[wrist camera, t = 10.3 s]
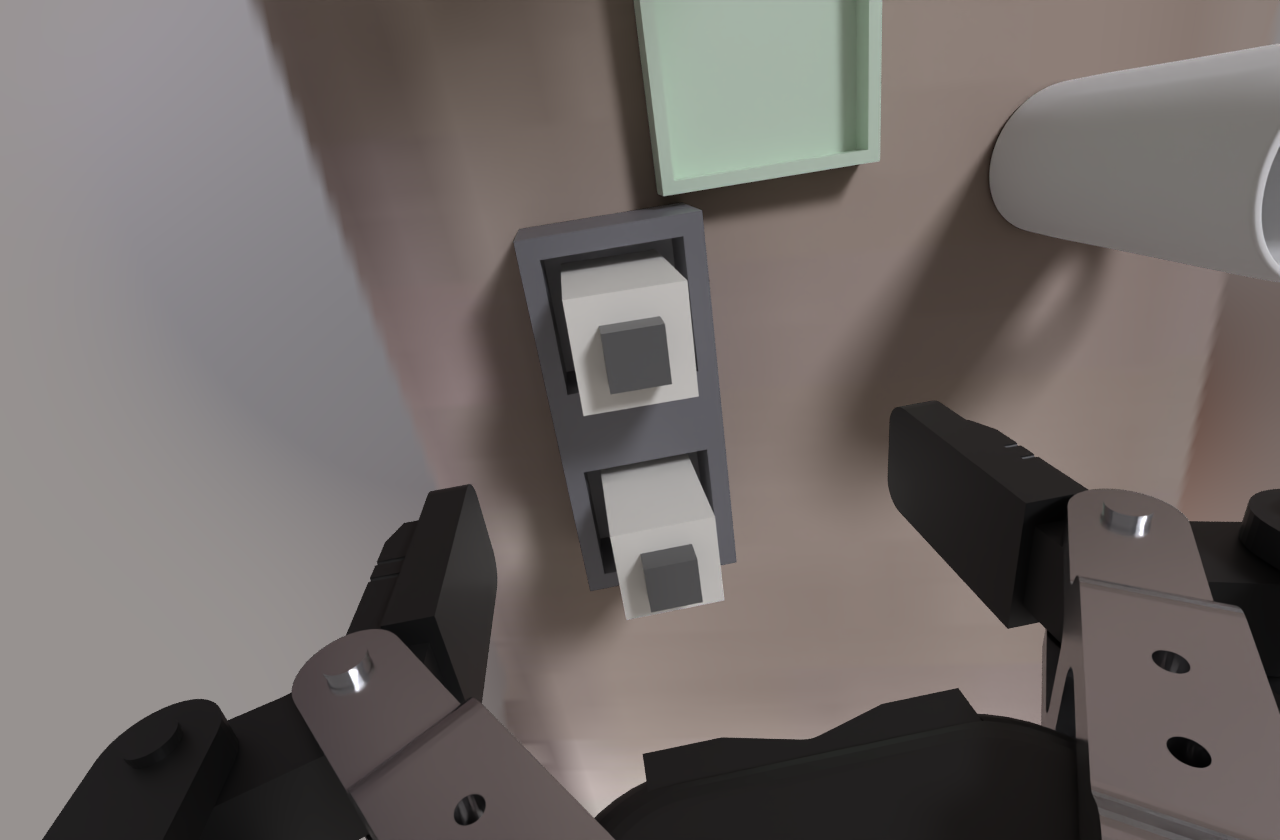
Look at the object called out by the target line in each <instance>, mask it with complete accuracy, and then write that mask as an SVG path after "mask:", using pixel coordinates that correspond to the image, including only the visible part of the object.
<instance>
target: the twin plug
mask: <svg viewBox="0 0 1280 840" xmlns="http://www.w3.org/2000/svg"><path fill="white" fill-rule="evenodd" d="M600 470H601V477H602V484H603V491H604V498H605V505H606V512H607V519H608V526H609V533H610V539H611V544H612V549H613V554H614V559H615V564H616V570H617V575H618V580H619V585H620V590H621V595H622V600H623V605H624V610H625V616H626V620H630V619H634V618H639V617H644V616H649V615H654V614H659V613H664V612H669V611H674V610H679V609H684V608H689V607H694V606H699V605H704V604H709V603H714V602H719V601H724V593H723V584H722V575H721V566H720V557H719V548H718V539H717V530H716V521H715V515H714V513H713V511H712V509H711V506H710V504H709V502H708V500H707V497H706V495H705V493H704V490H703V488H702V486H701V484H700V481H699V479H698V477H697V475H696V472H695V470H694V468H693V465H692V463H691V461H690V459H689V456H688V454H687V453H685V454H680V455H675V456H669V457H664V458H659V459H653V460H648V461H643V462H637V463H632V464H627V465H621V466H616V467H611V468H605V469H600Z"/></svg>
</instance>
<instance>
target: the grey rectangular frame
mask: <svg viewBox="0 0 1280 840" xmlns="http://www.w3.org/2000/svg"><path fill="white" fill-rule="evenodd" d="M513 243H514V247H515V252H516V256H517V261H518V265H519V270H520V274H521V279H522V283H523V288H524V292H525V297H526V301H527V306H528V311H529V315H530V320H531V324H532V329H533V333H534V338H535V342H536V347H537V351H538V356H539V360H540V365H541V369H542V374H543V379H544V383H545V388H546V392H547V397H548V401H549V406H550V410H551V415H552V419H553V424H554V428H555V433H556V437H557V442H558V447H559V451H560V456H561V460H562V465H563V469H564V474H565V478H566V483H567V487H568V492H569V496H570V501H571V505H572V510H573V515H574V519H575V524H576V528H577V533H578V537H579V542H580V546H581V551H582V555H583V560H584V564H585V569H586V573H587V578H588V583H589V587H590V591H594V590H599V589H604V588H609V587H614V586H619V580H618V575H617V570H616V564H615V559H614V554H613V549H612V544H611V539H610V533H609V526H608V519H607V512H606V505H605V498H604V491H603V484H602V477H601V470H600V469H605V468H611V467H616V466H621V465H627V464H632V463H637V462H643V461H648V460H653V459H659V458H664V457H669V456H675V455H680V454H685V453H687V454H688V456H689V459H690V461H691V463H692V465H693V468H694V470H695V472H696V475H697V477H698V479H699V481H700V484H701V486H702V488H703V490H704V493H705V495H706V497H707V500H708V502H709V504H710V506H711V509H712V511H713V513H714V515H715V521H716V530H717V539H718V548H719V557H720V565H725V564H730V563H735V562H736V552H735V541H734V531H733V521H732V511H731V500H730V490H729V480H728V470H727V460H726V449H725V439H724V429H723V419H722V408H721V398H720V388H719V378H718V367H717V357H716V347H715V337H714V327H713V316H712V306H711V296H710V286H709V275H708V265H707V255H706V245H705V234H704V224H703V214H702V210H700V209H697V208H695V207H692V206H690V205H687V204H685V203H675V204H669V205H663V206H657V207H651V208H645V209H639V210H633V211H627V212H621V213H614V214H608V215H602V216H596V217H590V218H584V219H578V220H572V221H566V222H560V223H553V224H547V225H541V226H535V227H529V228H523V229H519V230H518V233H517V235H516V237H515V239H514V241H513ZM652 249H655V250H656V251H657V252H658V253H660V254H661V255H662V256H663V257H664V258H665V259H666V260H667V261H668V262H669V263H670V264H671V265H672V266H673V267H674V268H675V269H676V270H677V271H678V272H679V273H680V274H681V275H682V276H683V277H684V278H685V279H686V280H687V282H688V292H689V302H690V312H691V322H692V332H693V342H694V353H695V363H696V373H697V383H698V393H699V397H693V398H687V399H681V400H675V401H669V402H663V403H658V404H652V405H646V406H640V407H634V408H628V409H622V410H617V411H611V412H605V413H599V414H593V415H587V416H583V410H582V405H581V399H580V394H579V389H578V383H577V378H576V372H575V367H574V361H573V356H572V351H571V345H570V340H569V334H568V329H567V323H566V318H565V312H564V307H563V302H562V285H561V266H560V264H562V263H569V262H575V261H581V260H588V259H594V258H601V257H607V256H614V255H620V254H627V253H633V252H639V251H646V250H652Z"/></svg>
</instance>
